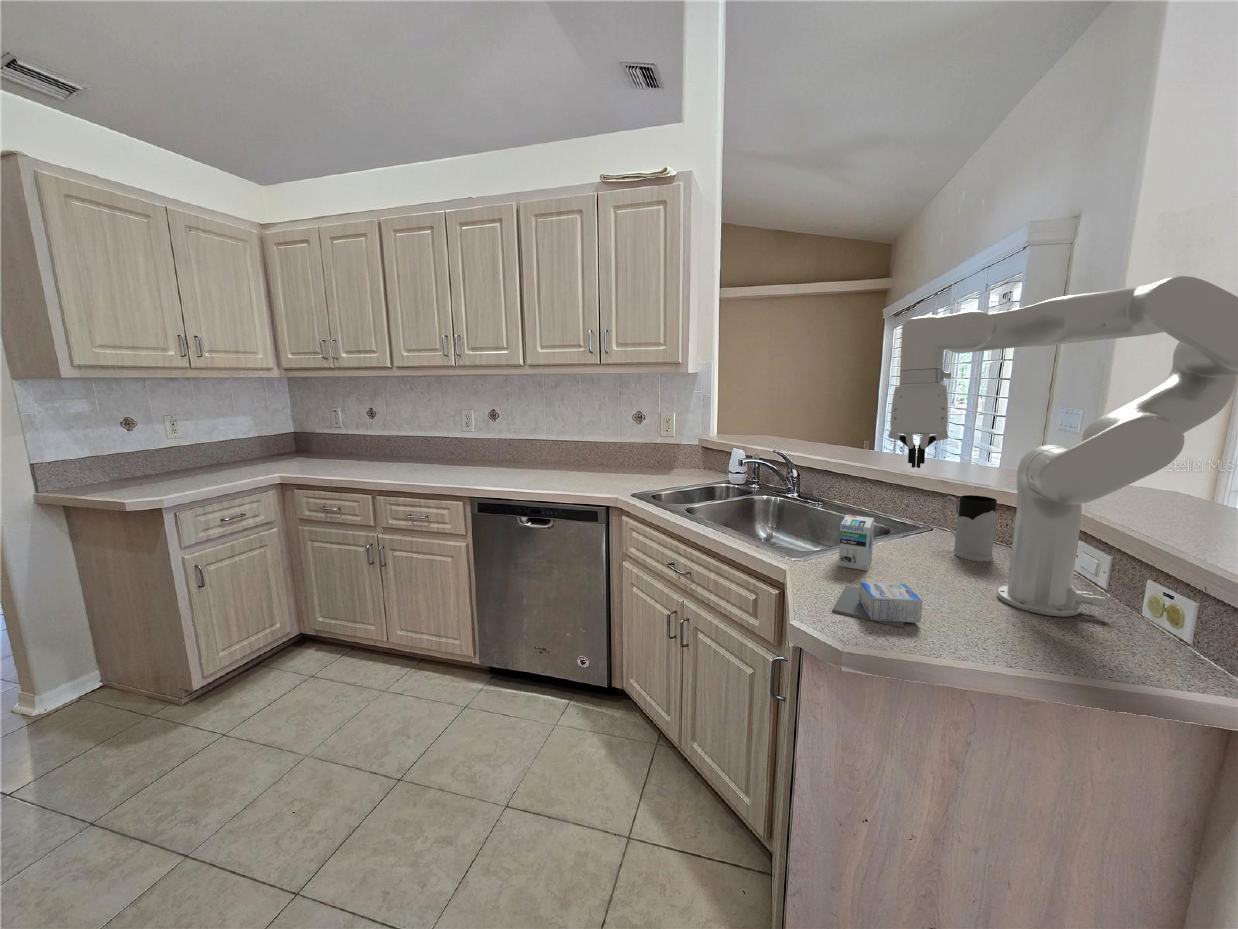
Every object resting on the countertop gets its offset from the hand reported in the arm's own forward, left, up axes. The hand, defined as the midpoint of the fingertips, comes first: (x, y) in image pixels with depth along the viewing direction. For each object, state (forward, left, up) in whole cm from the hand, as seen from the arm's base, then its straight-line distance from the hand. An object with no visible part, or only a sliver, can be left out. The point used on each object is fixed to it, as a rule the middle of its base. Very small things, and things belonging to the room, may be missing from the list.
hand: (915, 466), depth 103 cm
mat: (+5, +16, -26) cm, 31 cm away
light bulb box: (+12, -9, -27) cm, 31 cm away
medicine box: (-3, +16, -24) cm, 29 cm away
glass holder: (-10, -32, -27) cm, 43 cm away
